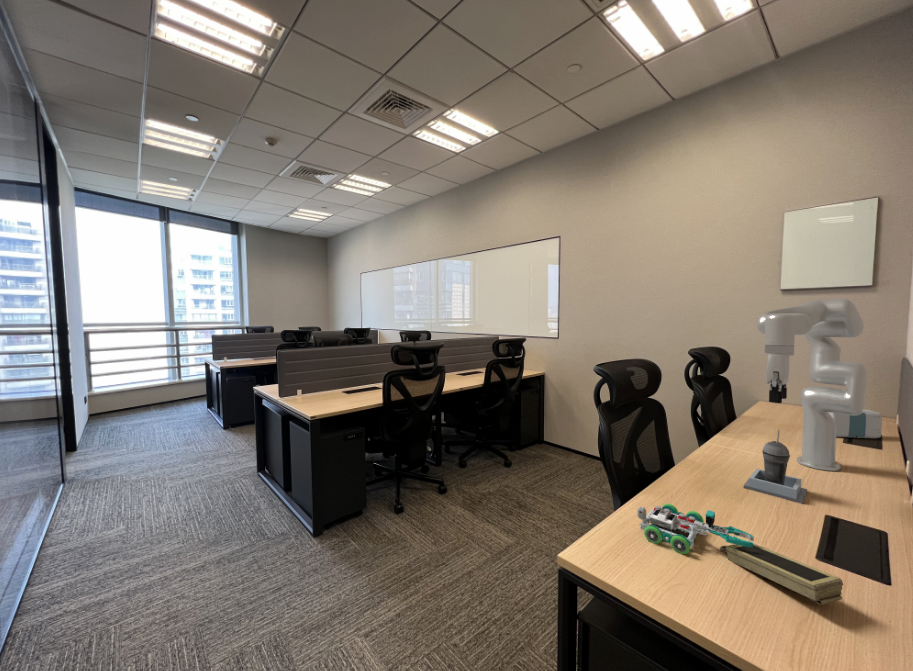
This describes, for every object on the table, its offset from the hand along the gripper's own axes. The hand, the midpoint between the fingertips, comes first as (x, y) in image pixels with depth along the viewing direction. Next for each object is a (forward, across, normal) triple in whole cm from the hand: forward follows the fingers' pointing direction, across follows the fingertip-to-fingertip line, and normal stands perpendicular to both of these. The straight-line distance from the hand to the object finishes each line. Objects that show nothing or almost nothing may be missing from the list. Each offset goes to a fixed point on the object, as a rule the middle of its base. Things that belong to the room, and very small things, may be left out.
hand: (777, 400), depth 125 cm
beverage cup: (+30, 0, 0) cm, 30 cm away
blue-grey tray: (+31, 0, 0) cm, 31 cm away
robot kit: (+31, +54, -9) cm, 63 cm away
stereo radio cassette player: (+32, -103, +14) cm, 109 cm away
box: (+31, +57, +7) cm, 65 cm away
